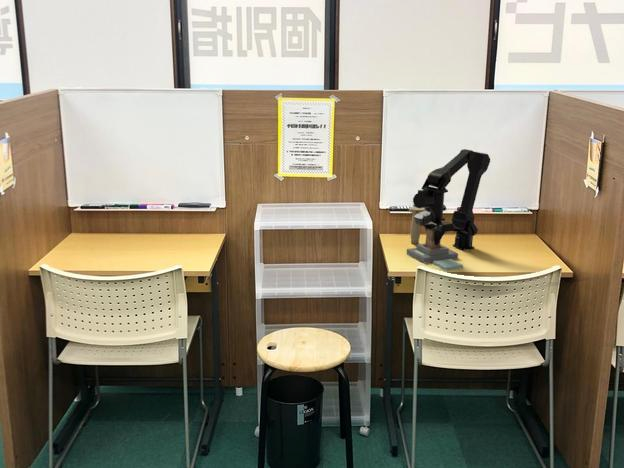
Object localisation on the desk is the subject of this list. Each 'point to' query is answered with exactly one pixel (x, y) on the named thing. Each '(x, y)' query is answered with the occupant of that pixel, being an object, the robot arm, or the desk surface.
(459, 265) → the pad
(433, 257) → the grey stepped block
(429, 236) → the brown upright block
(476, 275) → the desk surface
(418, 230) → the handle
